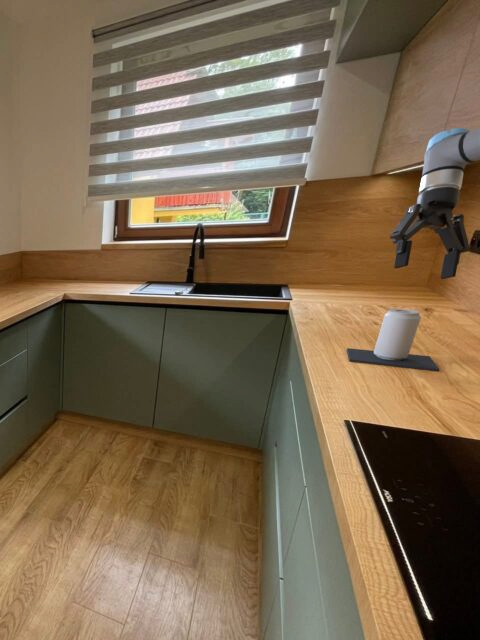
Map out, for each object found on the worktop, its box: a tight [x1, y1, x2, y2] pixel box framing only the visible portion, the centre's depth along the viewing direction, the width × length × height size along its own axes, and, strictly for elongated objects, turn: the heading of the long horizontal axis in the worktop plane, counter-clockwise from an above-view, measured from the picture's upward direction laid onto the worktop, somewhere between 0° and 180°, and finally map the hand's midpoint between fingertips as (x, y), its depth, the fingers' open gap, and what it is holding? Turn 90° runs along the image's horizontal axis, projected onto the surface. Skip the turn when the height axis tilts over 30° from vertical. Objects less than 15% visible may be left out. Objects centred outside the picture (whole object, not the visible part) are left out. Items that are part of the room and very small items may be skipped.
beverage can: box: [373, 308, 422, 360], centre depth 106 cm, size 6×6×12 cm
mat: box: [346, 347, 441, 372], centre depth 108 cm, size 16×12×1 cm
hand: (424, 272), depth 111 cm, fingers open, 13 cm apart
